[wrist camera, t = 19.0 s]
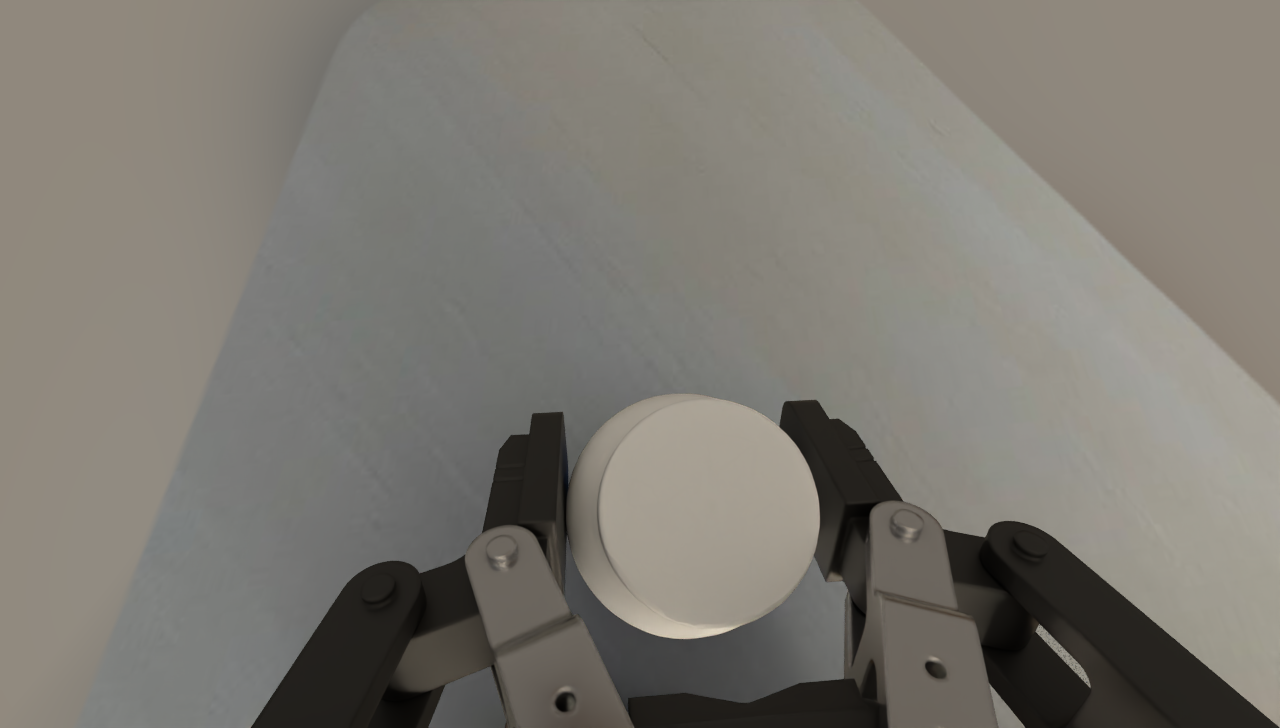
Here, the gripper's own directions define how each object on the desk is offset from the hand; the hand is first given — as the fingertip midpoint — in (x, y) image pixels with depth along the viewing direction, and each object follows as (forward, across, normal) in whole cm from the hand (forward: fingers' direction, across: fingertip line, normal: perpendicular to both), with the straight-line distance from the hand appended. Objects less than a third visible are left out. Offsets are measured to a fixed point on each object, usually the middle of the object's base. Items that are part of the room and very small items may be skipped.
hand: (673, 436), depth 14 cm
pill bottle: (+3, 0, +6) cm, 7 cm away
